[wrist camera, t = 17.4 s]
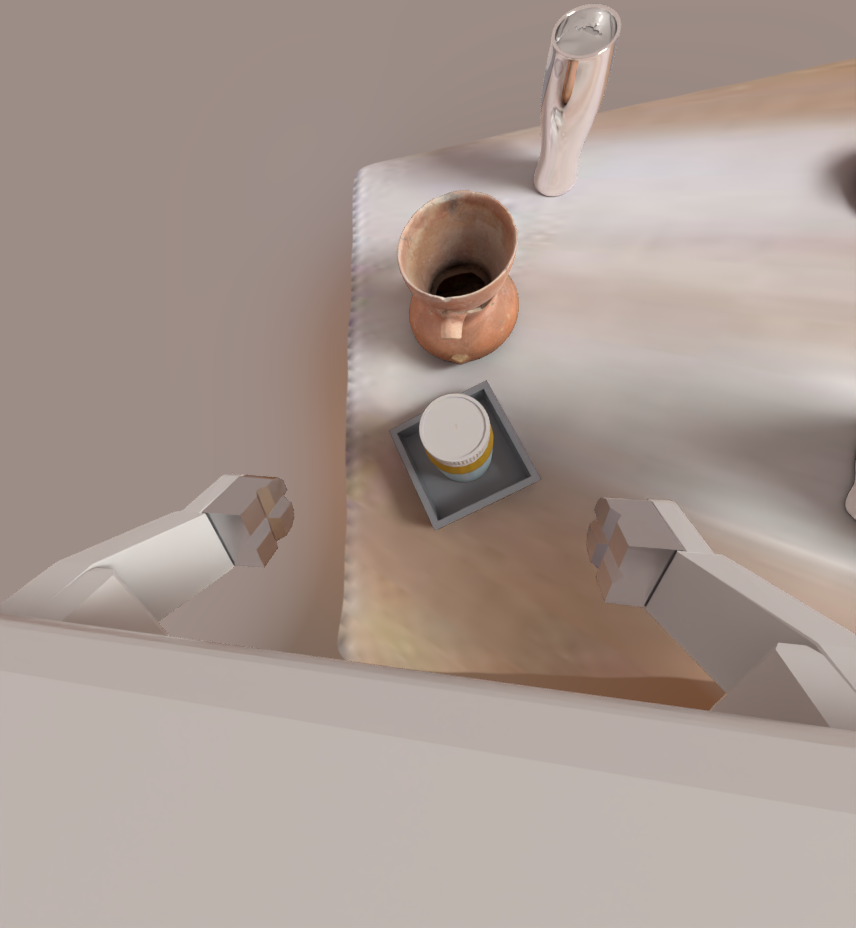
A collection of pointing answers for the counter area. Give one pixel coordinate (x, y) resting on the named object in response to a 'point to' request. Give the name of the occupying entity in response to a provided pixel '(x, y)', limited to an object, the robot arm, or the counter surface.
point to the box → (462, 499)
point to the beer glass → (573, 92)
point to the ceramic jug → (460, 275)
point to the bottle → (457, 436)
